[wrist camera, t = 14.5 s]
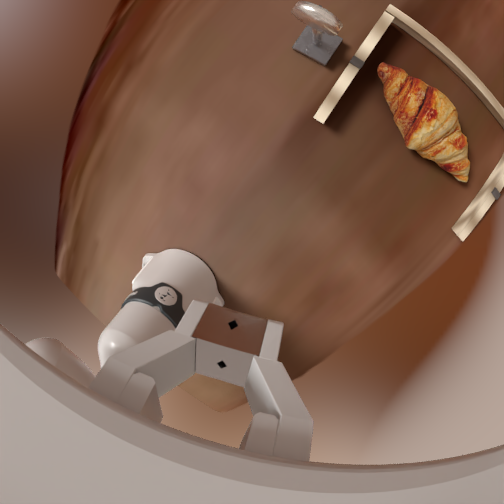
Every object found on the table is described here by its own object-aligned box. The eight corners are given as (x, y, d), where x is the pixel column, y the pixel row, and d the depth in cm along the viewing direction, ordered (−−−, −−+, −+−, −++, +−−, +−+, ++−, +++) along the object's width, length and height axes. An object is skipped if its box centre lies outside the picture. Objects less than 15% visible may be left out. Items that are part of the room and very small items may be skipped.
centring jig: (456, 233, 36) (464, 243, 33) (313, 117, 34) (312, 117, 31) (519, 140, 24) (530, 144, 21) (385, 9, 22) (391, 1, 19)
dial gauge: (324, 66, 30) (328, 41, 18) (293, 49, 30) (278, 17, 17) (342, 41, 27) (353, 6, 15) (310, 24, 27) (304, -18, 15)
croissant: (462, 161, 33) (496, 158, 25) (440, 203, 34) (477, 205, 26) (381, 60, 29) (409, 37, 21) (347, 93, 30) (377, 70, 22)
